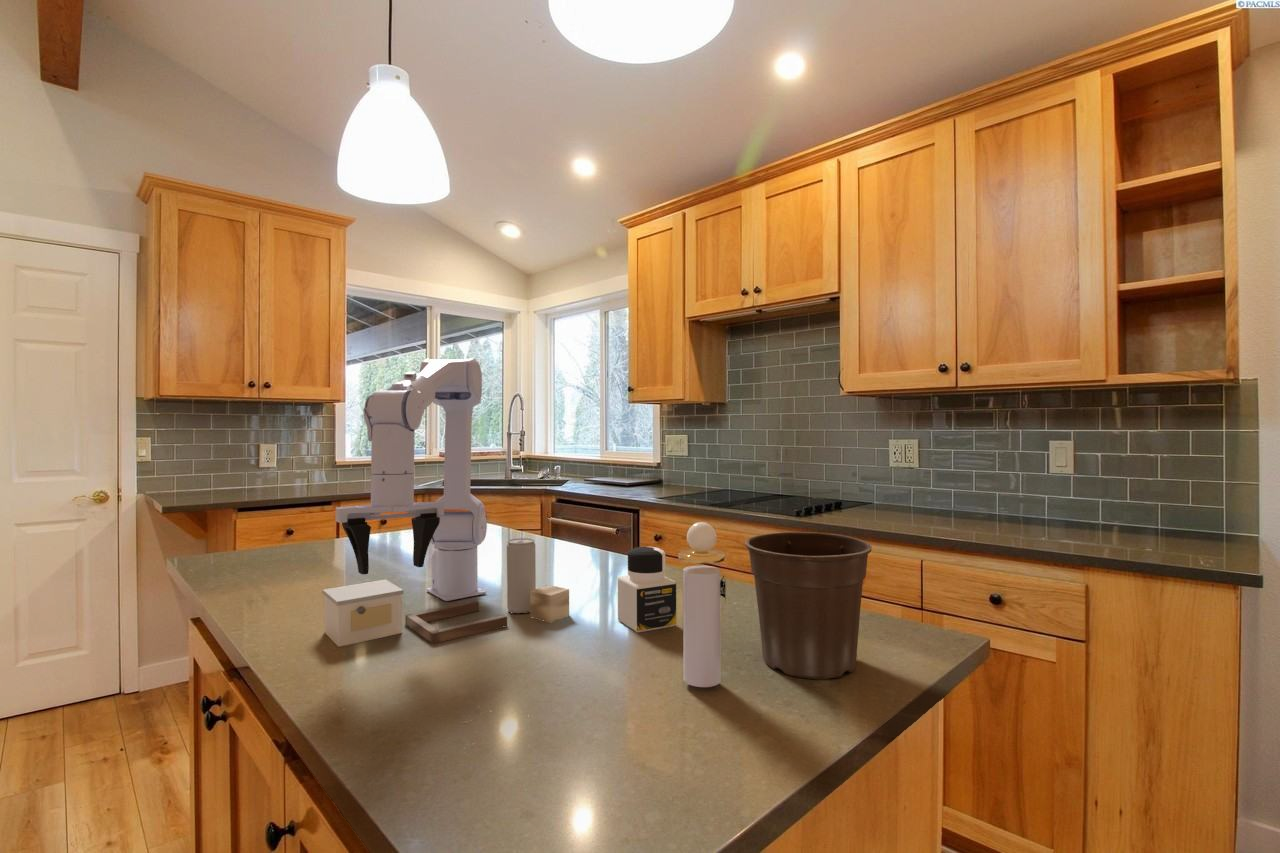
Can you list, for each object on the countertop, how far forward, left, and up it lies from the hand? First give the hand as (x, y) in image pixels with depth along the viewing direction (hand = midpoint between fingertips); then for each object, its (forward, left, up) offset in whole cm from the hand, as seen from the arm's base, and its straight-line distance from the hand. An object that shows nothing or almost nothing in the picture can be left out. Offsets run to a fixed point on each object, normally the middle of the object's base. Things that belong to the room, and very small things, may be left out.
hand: (391, 569), depth 87 cm
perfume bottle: (+37, +25, -12) cm, 46 cm away
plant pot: (+41, +41, -12) cm, 59 cm away
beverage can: (-4, +23, -12) cm, 26 cm away
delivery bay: (-4, +11, -11) cm, 16 cm away
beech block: (+2, +25, -12) cm, 27 cm away
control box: (-10, -1, -11) cm, 15 cm away
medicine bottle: (+15, +35, -12) cm, 40 cm away
